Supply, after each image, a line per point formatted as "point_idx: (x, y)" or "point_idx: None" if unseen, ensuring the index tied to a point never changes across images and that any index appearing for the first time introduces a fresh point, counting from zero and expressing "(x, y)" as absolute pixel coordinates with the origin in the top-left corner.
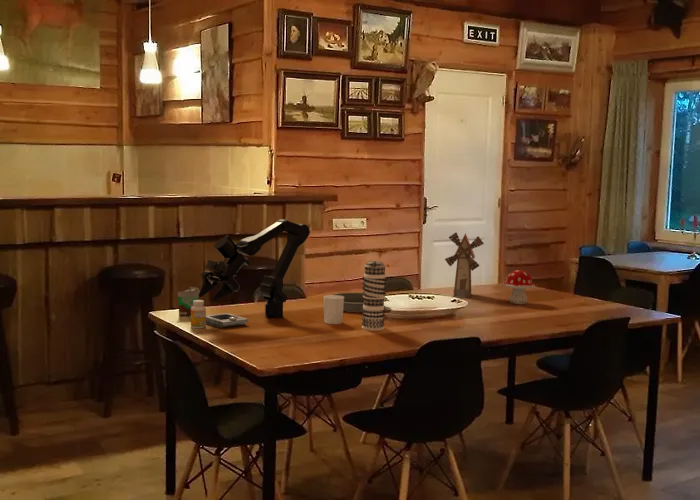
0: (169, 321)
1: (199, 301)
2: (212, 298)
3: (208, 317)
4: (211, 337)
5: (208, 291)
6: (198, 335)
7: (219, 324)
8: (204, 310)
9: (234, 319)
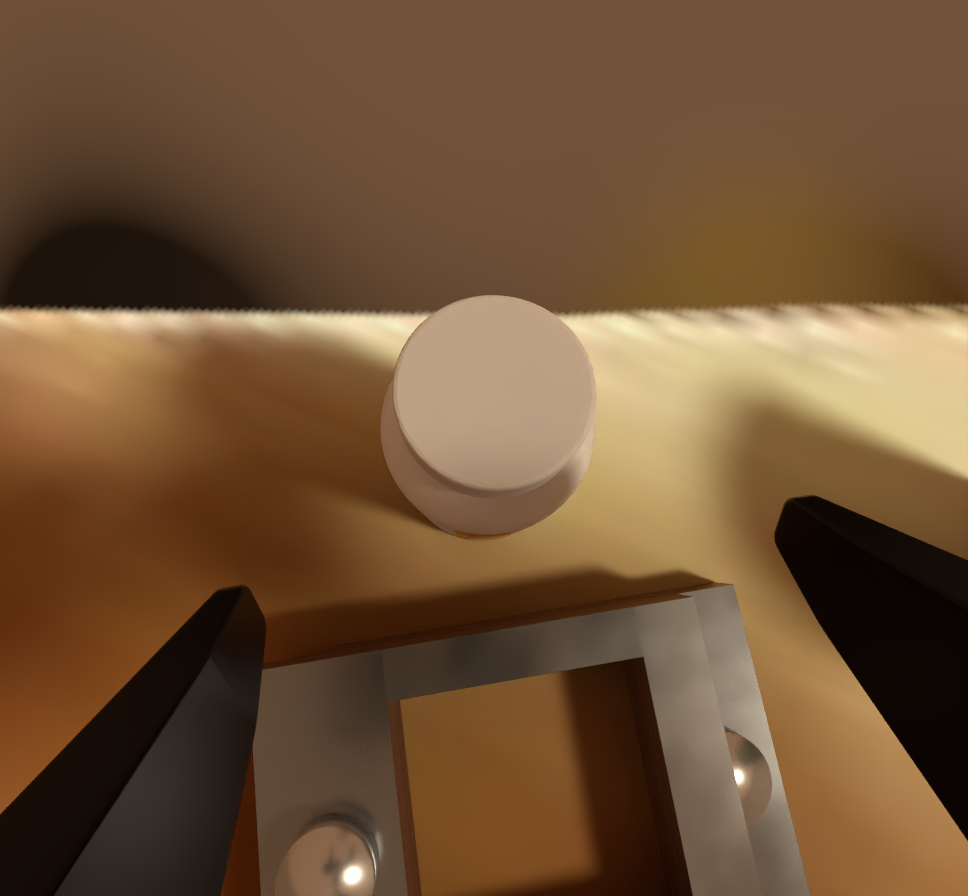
0: (805, 334)
1: (419, 374)
2: (226, 592)
3: (587, 628)
4: (15, 399)
5: (959, 818)
6: (154, 333)
7: (339, 651)
8: (396, 482)
9: (283, 878)
